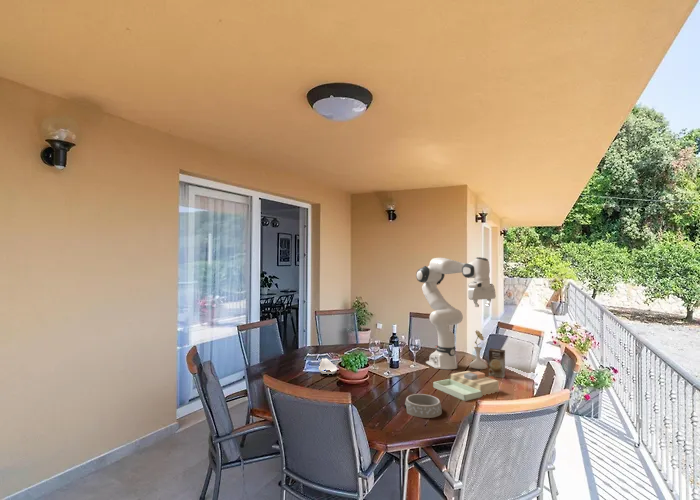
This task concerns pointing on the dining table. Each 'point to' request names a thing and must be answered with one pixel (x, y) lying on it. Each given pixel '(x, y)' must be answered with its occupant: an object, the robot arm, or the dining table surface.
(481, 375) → the terracotta tile
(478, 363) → the flower in vase
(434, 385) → the tray
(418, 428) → the dining table surface
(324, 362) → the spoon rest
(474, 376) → the slate tile
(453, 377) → the bench slab
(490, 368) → the coffee box
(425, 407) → the dog bowl
